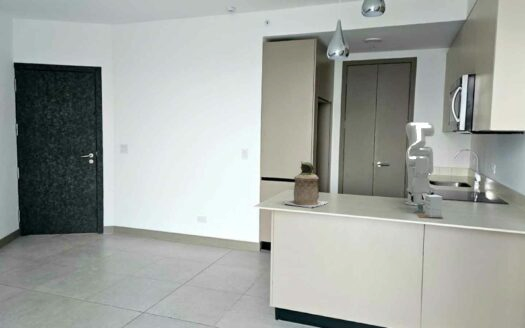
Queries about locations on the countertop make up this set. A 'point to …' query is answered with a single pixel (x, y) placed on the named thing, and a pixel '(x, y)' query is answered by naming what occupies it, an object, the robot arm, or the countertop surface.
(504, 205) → the countertop surface
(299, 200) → the cookie jar
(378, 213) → the countertop surface
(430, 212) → the supplement box
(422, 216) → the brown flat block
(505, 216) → the countertop surface
